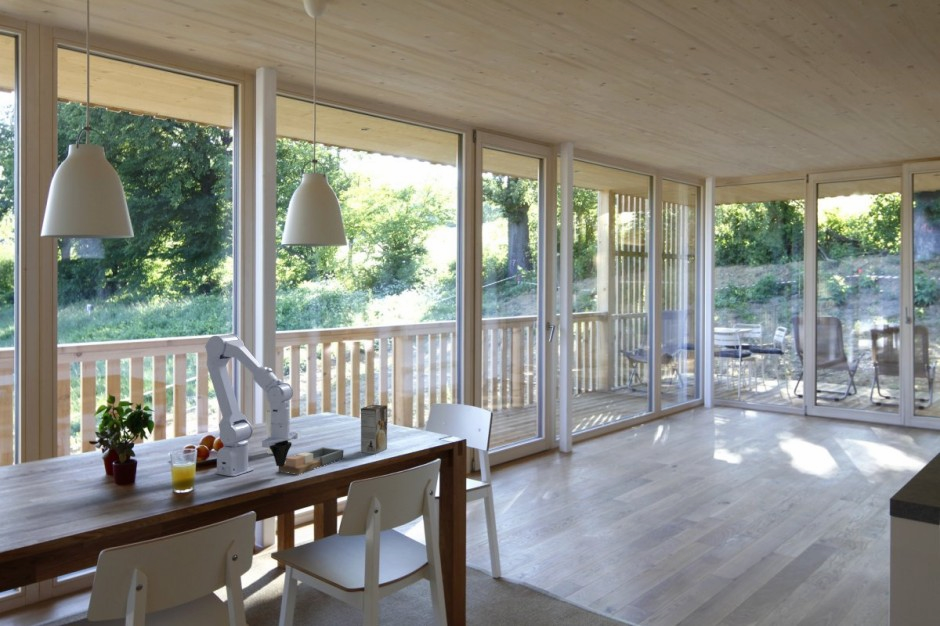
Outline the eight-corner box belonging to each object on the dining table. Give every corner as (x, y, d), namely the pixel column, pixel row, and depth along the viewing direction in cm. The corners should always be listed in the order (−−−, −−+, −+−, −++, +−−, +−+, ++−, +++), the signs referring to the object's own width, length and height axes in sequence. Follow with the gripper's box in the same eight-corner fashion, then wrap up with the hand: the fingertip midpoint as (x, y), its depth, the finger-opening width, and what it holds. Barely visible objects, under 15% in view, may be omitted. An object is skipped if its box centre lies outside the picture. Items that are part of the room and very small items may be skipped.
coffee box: (371, 447, 272) (372, 404, 271) (387, 448, 270) (387, 405, 269) (360, 452, 263) (360, 408, 263) (376, 454, 261) (376, 409, 260)
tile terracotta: (295, 467, 234) (295, 459, 234) (285, 465, 236) (285, 458, 236) (303, 464, 238) (303, 456, 238) (293, 462, 240) (293, 455, 240)
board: (298, 474, 233) (298, 468, 233) (278, 471, 236) (278, 465, 236) (321, 466, 243) (321, 460, 243) (302, 463, 247) (302, 457, 247)
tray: (322, 466, 243) (322, 457, 243) (300, 463, 247) (300, 454, 247) (343, 458, 254) (343, 450, 254) (322, 455, 258) (322, 447, 258)
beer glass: (280, 455, 258) (280, 413, 257) (262, 454, 259) (261, 412, 258) (289, 451, 265) (289, 409, 264) (271, 450, 266) (271, 408, 265)
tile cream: (305, 463, 239) (305, 456, 239) (295, 462, 241) (295, 454, 240) (313, 461, 242) (313, 453, 242) (303, 459, 244) (303, 452, 244)
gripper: (274, 427, 222) (275, 472, 222) (305, 419, 235) (305, 462, 235) (256, 425, 225) (256, 469, 225) (287, 418, 238) (287, 459, 238)
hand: (280, 465), depth 231 cm, fingers closed
